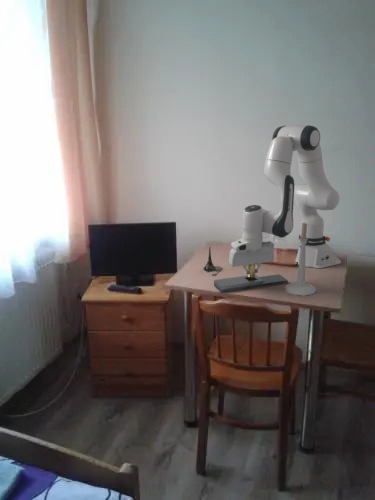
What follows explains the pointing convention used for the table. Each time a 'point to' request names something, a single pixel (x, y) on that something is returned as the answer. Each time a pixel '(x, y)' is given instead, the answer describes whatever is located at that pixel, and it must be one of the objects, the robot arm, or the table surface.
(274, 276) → the long grey slab
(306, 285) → the candlestick
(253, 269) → the brass pin
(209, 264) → the eiffel tower figurine
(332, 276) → the table surface
